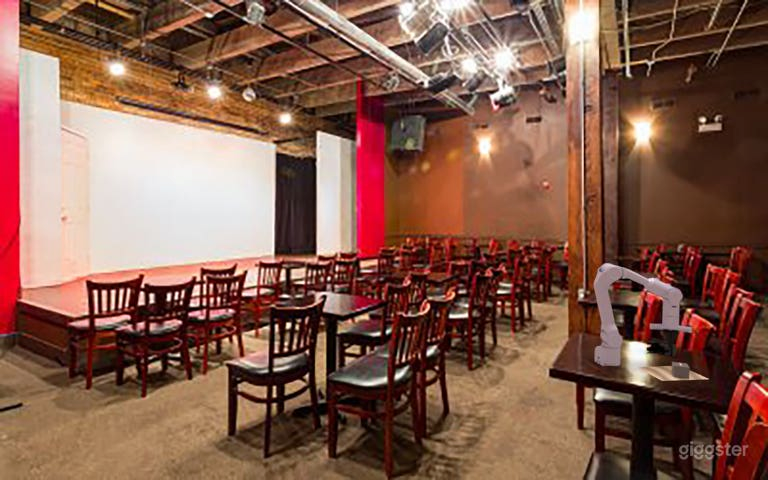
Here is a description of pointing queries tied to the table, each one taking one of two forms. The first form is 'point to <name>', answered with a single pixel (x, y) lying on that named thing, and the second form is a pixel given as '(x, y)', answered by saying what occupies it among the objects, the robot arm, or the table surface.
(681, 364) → the grey cube
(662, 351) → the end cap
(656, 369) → the board
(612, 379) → the table surface
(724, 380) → the table surface
